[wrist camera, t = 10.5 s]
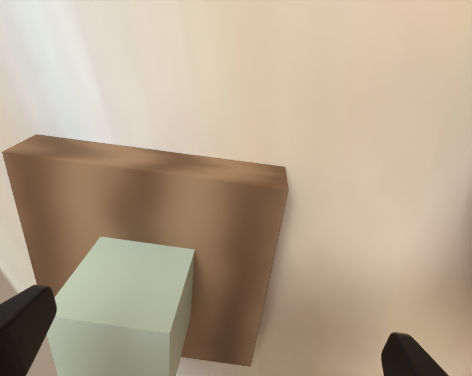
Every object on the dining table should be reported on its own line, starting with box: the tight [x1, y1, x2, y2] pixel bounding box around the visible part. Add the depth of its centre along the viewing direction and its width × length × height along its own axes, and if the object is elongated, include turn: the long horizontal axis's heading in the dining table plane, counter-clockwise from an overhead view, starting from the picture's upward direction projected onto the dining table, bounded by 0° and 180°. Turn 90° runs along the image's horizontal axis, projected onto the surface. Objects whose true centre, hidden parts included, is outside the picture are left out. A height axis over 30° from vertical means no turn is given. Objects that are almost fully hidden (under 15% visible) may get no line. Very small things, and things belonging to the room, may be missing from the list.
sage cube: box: [47, 237, 195, 376], centre depth 19 cm, size 6×6×6 cm
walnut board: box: [2, 135, 288, 367], centre depth 23 cm, size 16×16×3 cm
